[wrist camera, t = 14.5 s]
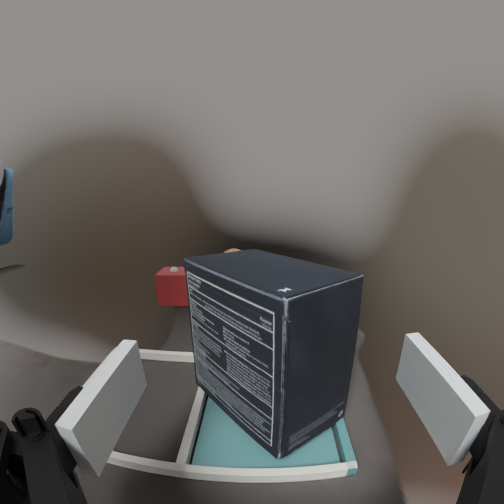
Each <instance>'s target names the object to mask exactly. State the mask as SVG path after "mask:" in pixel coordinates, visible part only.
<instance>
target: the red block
mask: <svg viewBox="0 0 504 504" xmlns="http://www.w3.org/2000/svg"><path fill="white" fill-rule="evenodd" d="M155 283H156V291H157V299H158V305H159V306H189V302H188V294H187V285H186V276H185V270H184V267H164V268H163V269H162V270H160V271H159V272H158V273H157V274H156V275H155Z"/></svg>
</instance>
